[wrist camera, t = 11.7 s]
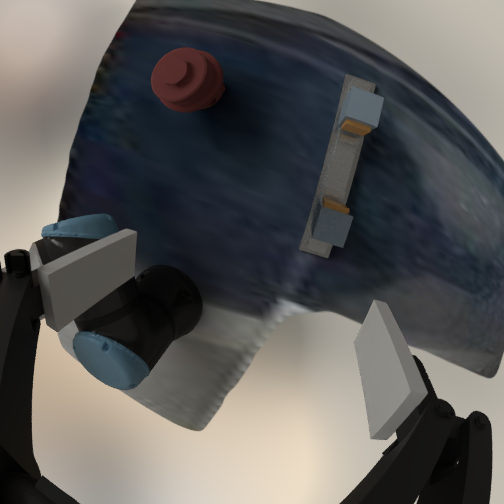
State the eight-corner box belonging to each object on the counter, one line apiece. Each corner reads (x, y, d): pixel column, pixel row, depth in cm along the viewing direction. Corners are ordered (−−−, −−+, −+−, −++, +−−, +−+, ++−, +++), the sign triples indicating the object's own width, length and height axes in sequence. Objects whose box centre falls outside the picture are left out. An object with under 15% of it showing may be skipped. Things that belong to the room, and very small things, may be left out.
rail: (327, 256, 44) (333, 285, 34) (299, 248, 45) (296, 274, 34) (374, 85, 34) (394, 61, 23) (345, 75, 35) (356, 47, 24)
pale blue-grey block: (343, 102, 34) (352, 86, 26) (368, 111, 34) (384, 97, 25) (336, 130, 36) (344, 120, 27) (361, 139, 35) (376, 131, 27)
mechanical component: (178, 74, 39) (232, 61, 37) (182, 124, 42) (238, 113, 40) (141, 52, 28) (207, 31, 26) (143, 114, 31) (213, 95, 29)
